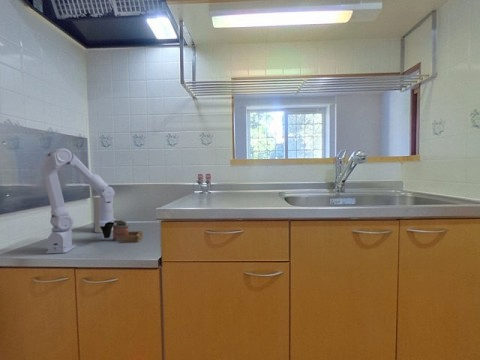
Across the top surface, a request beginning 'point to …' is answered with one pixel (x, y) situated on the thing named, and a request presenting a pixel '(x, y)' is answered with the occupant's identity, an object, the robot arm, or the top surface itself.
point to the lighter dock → (132, 237)
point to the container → (98, 214)
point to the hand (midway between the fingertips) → (107, 237)
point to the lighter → (120, 230)
